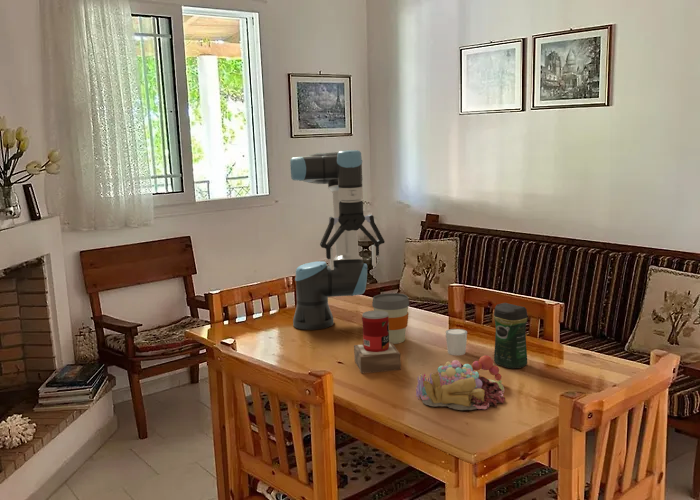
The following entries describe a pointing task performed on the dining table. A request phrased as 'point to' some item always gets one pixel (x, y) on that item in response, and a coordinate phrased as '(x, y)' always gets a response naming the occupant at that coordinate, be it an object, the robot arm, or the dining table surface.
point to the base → (377, 359)
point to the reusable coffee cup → (394, 313)
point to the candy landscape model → (462, 386)
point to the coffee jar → (510, 335)
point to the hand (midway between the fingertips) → (353, 267)
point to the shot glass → (456, 341)
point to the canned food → (375, 331)
